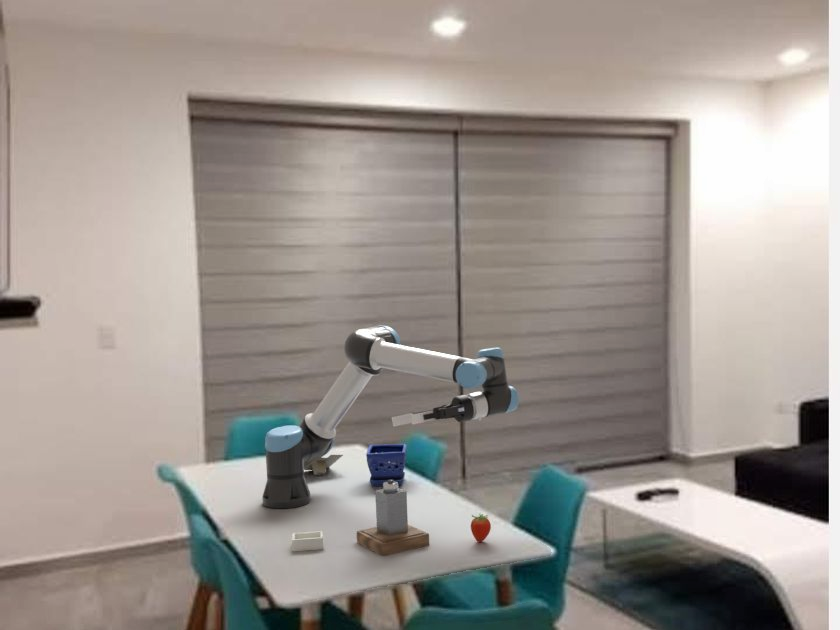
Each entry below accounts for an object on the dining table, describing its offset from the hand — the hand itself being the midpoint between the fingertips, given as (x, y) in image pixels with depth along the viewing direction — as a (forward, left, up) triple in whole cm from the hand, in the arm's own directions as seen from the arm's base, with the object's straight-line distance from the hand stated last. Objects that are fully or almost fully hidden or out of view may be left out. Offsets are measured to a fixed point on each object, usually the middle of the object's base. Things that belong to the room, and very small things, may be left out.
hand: (401, 420), depth 245 cm
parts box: (-22, -18, -30) cm, 42 cm away
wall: (-48, +60, -31) cm, 83 cm away
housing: (0, -13, -27) cm, 30 cm away
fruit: (+23, -9, -31) cm, 39 cm away
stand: (0, -13, -30) cm, 33 cm away
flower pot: (-18, +50, -31) cm, 61 cm away
